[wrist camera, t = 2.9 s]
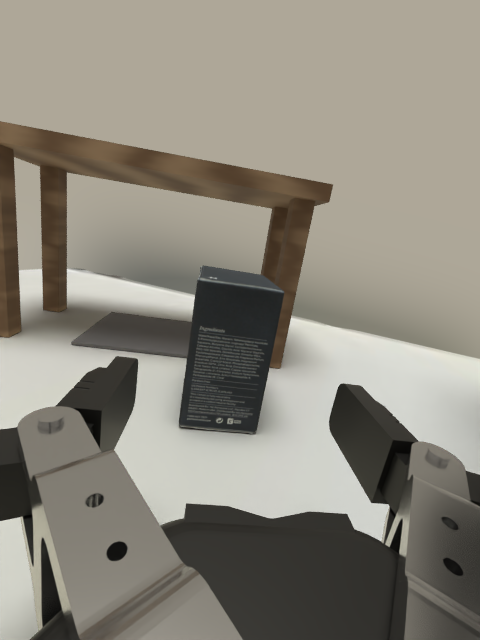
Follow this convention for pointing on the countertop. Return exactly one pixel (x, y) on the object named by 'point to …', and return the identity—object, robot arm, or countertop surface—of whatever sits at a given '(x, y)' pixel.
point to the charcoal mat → (138, 335)
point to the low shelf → (152, 171)
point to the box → (229, 350)
